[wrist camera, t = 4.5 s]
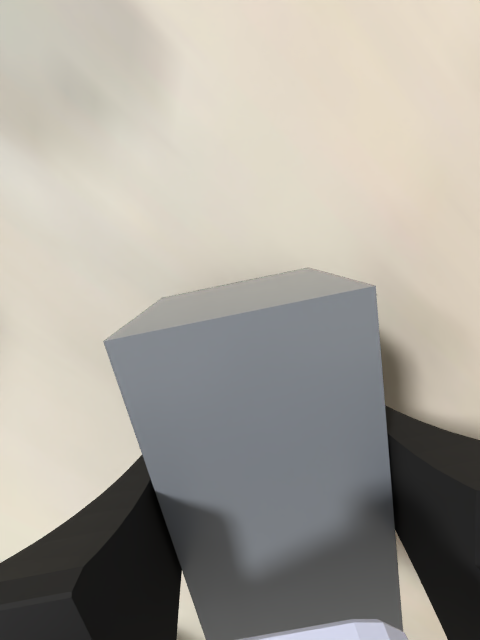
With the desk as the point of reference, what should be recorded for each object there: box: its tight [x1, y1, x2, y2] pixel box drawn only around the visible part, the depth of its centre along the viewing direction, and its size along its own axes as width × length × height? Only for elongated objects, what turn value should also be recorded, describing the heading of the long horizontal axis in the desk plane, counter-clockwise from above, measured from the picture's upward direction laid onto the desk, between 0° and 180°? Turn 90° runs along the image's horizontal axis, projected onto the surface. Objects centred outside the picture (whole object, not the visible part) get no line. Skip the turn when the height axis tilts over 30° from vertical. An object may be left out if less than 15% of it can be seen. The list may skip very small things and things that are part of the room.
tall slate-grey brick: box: [103, 268, 403, 640], centre depth 10 cm, size 6×12×6 cm, turn 11°
